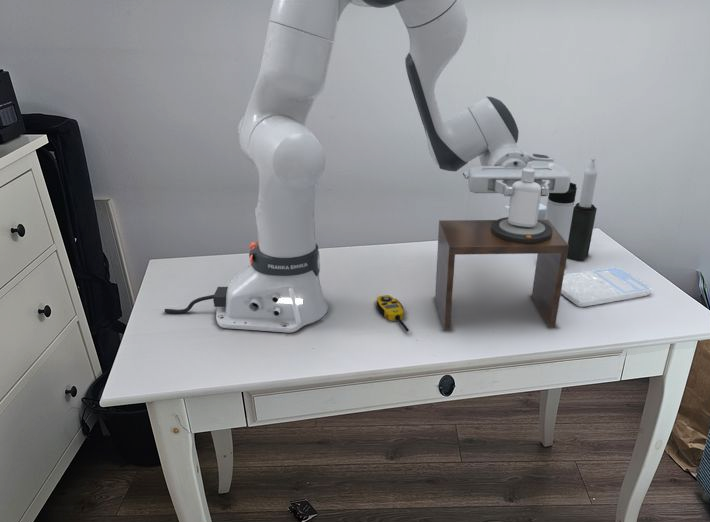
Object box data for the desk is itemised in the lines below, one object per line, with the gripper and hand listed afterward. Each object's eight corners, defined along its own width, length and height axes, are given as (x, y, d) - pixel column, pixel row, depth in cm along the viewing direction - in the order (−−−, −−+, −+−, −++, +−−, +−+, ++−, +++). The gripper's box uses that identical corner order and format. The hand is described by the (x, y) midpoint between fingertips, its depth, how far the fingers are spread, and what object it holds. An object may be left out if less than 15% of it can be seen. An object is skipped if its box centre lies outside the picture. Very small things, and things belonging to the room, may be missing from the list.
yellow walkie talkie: (393, 292, 134) (419, 324, 122) (393, 300, 135) (419, 332, 123) (372, 295, 132) (396, 328, 120) (372, 303, 133) (396, 336, 122)
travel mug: (570, 266, 153) (584, 186, 143) (550, 272, 150) (563, 191, 139) (552, 257, 157) (564, 179, 147) (533, 263, 154) (544, 183, 144)
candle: (582, 261, 156) (600, 161, 143) (563, 257, 158) (579, 158, 145) (589, 255, 159) (607, 157, 146) (570, 250, 162) (587, 153, 149)
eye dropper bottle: (526, 230, 118) (534, 167, 112) (503, 222, 122) (510, 160, 115) (540, 225, 121) (548, 163, 115) (518, 217, 124) (525, 157, 118)
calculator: (545, 283, 145) (547, 275, 144) (616, 271, 151) (617, 264, 150) (578, 308, 134) (580, 300, 133) (652, 295, 141) (654, 287, 140)
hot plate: (498, 244, 117) (498, 237, 116) (485, 221, 127) (486, 215, 126) (559, 243, 118) (560, 236, 117) (542, 221, 128) (543, 215, 127)
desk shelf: (444, 330, 124) (449, 246, 115) (435, 298, 136) (439, 220, 126) (555, 327, 127) (569, 245, 117) (536, 296, 138) (548, 219, 129)
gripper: (462, 155, 126) (475, 175, 114) (559, 156, 128) (581, 175, 117) (460, 186, 129) (472, 208, 118) (555, 186, 132) (576, 208, 120)
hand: (527, 192), depth 117 cm, fingers closed on eye dropper bottle, 5 cm apart
